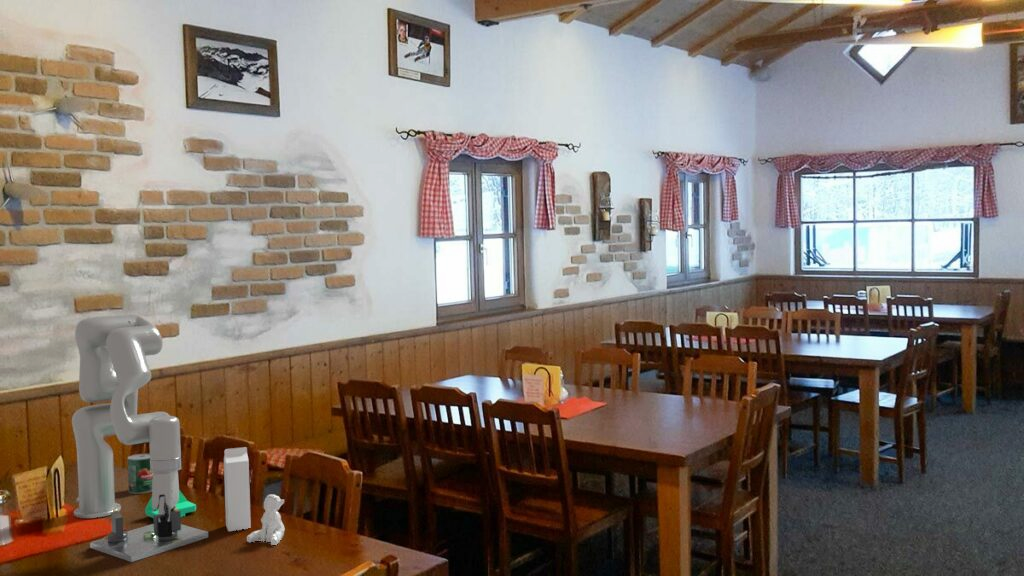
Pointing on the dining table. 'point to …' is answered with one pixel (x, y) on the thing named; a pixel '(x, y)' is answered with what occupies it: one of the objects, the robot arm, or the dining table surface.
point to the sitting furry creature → (270, 522)
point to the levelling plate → (146, 543)
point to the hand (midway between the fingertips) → (168, 532)
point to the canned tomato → (139, 474)
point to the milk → (237, 489)
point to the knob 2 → (175, 525)
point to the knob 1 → (117, 528)
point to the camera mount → (182, 505)
